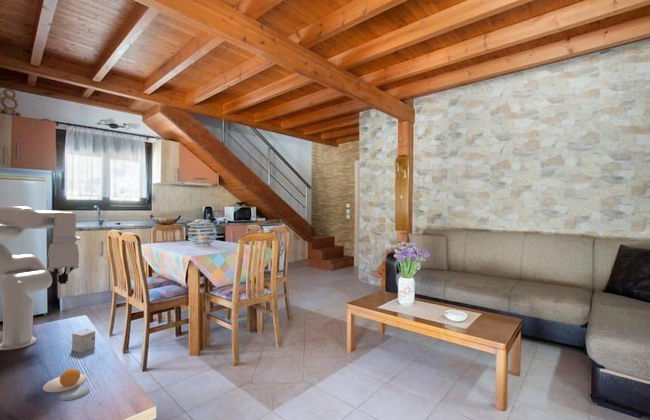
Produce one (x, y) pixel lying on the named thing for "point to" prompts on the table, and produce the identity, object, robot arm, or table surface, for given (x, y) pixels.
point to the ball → (69, 377)
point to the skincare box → (83, 340)
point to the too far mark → (74, 393)
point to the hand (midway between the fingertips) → (62, 283)
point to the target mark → (57, 387)
